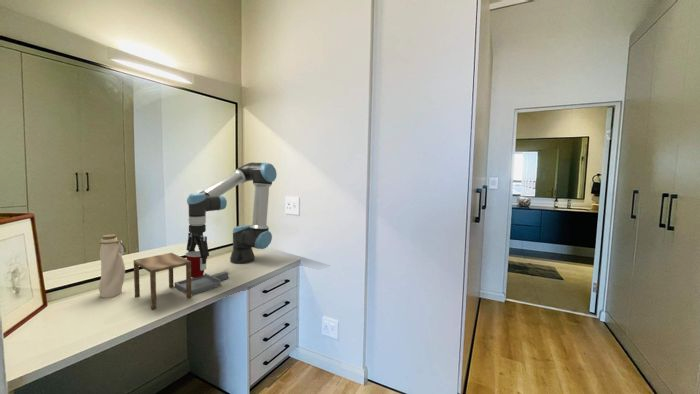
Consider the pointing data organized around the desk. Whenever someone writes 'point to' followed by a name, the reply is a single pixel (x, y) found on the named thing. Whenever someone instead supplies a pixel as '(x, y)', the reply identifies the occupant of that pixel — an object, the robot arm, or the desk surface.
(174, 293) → the desk surface
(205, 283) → the tray
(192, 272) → the plastic cup
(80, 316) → the desk surface
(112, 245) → the water bottle
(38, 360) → the desk surface
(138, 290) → the small wooden stool
